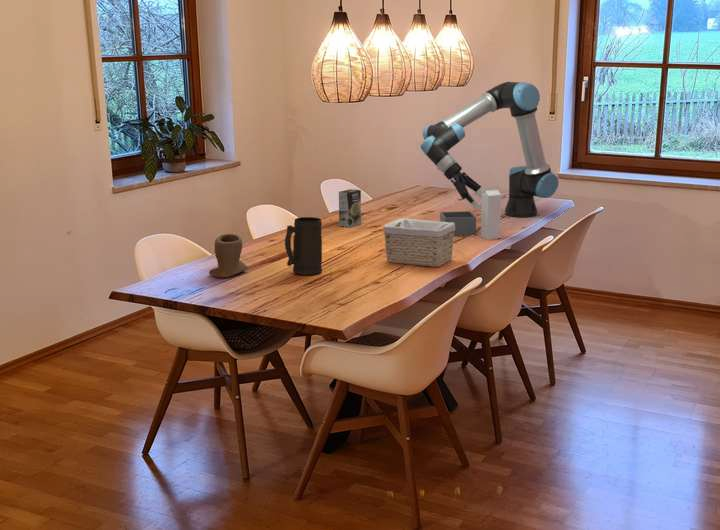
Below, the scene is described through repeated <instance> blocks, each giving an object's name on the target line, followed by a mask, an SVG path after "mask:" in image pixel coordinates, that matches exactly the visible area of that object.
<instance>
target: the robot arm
mask: <svg viewBox="0 0 720 530" xmlns="http://www.w3.org/2000/svg"><path fill="white" fill-rule="evenodd" d="M540 97H541V96H540V92H539V90H538V88H537V87H536V86H535V85H534V84H532V83H530V82H526V81H524V82H523V81H521V82H519V81H518V82H517V81H505V82H502V83H499V84H498V85H495V86H493V87H492V88H490V89H488V90H487V91H485V92H484V93H482V95H481V97H479V98H477V99H476V100H474V101H473V102H471V103H469V104H468V105H465V106H464V107H463V108H461V109H459V110H457V111H456V112H454V113H452V114H451V115H449V116H447V117H446V118H444V119H443V120H441V121H439V122H436V124H428V125H426V126H425V127H424V128H423V129H422V137H423V139H424V140H423V142H421V144H420V149H421V150H422V152H423V153H424V155H425V156H427V158H428V159H429V160H430V161H431V162H432V163H433V164H434V165H435V167H437V170H438V171H440V172H441V173H443V176H444V177H445V178H446V179H447V180H450V182H451V183H452V185H453V186H454V188H455V190H456V191H457V192H458V194H459V196H460V197H461V198H462V200H465V199H466V201H467V202H468V203H469V204H470V206H472V207H473V209H474V210H478V209H479V208H480V207H481V203H479V201H477V199H476V198H475V197H474V196H473V194H472V193H469V190H468V189H467V187H468V188H469V189H470V190H472V191H473V192H474V193H475V195H476V196H477V197H478V198H479V199H480V201H482V193H483V192H484V191H483V190H482V189H481V188H482V185H480V184H479V183H478V182H476V181H475V180H474V179H473V178H471V177H470V176H469V175H468V174H467V173H466V172H464V171H462V169H463V167H462V166H461V165H460V164H459V163H458V162H456V159H454V157H453V156H452V155H451V153H450V152H448V151H450V150H451V149H452V148H454V147H455V146H456V145H457V144H459V143H460V142H461V141H462V140H463V139H464V138H465V137H466V132H465V129H464V128H465V127H467V126H468V125H471V123H473V122H475V121H477V120H479V119H480V118H482V117H483V116H486V115H487V114H488V113H495V112H496V111H498V110H502V109H509V112H510V116H511V117H512V118H514V119H515V122H516V125H517V130H518V133H519V138H520V139H519V140H520V143H521V144H520V145H521V148H522V152H523V156H524V161H525V166H524V165H521V166H513V167H511V168H510V169H509V174H508V200H507V202H506V206H505V208H504V215H505V216H508V217H513V218H530V217H535V216H537V214H538V208H537V205H536V201H535V197H537V198H539V199H548V198H550V197H552V196H553V195H555V193H556V192H557V190H558V187H559V178H558V176H557V175H556V174H554V173H552V169H551V165H550V164H549V163H547V162H546V158H545V154H544V148H543V145H542V144H543V143H542V142H541V141H542V140H541V137H540V136H541V135H540V132H539V131H540V130H539V127H538V122H537V118H536V112H537V111H538V106H539V104H540V103H539V102H540V100H541V98H540ZM461 171H462V172H461Z"/></svg>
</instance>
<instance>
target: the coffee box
mask: <svg viewBox="0 0 720 530" xmlns="http://www.w3.org/2000/svg"><path fill="white" fill-rule="evenodd" d="M361 192H362V190H361V189H351V188H349V189H346V190H341V191H338V226H339V227H342V226H344V227H343V228H348V227H350V228H354V227H356V225H357V226H361V225H362V195H361V194H362V193H361ZM360 224H361V225H360ZM353 226H354V227H353Z"/></svg>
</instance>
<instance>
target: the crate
mask: <svg viewBox="0 0 720 530" xmlns="http://www.w3.org/2000/svg"><path fill="white" fill-rule="evenodd" d="M439 218H440V219H439V221H440V222H449V223H451V222H453V223H454V224H455V230H454V237H461V236H460V235H476V236H477V217H476V215H475V214H474V213H473V212H472V211H471V210H468V211H467V210H465V211H440V212H439Z"/></svg>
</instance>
